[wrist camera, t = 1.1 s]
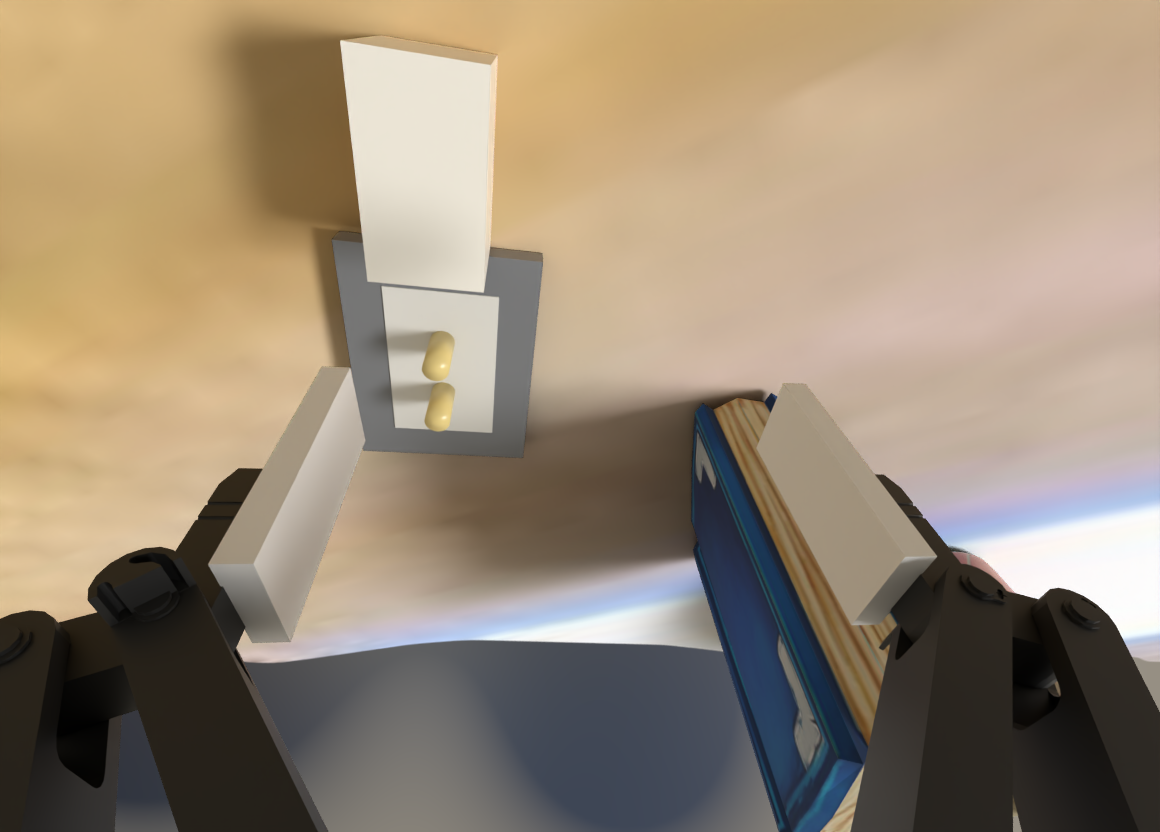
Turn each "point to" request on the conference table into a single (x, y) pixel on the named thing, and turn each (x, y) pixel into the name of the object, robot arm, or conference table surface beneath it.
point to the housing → (422, 159)
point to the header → (441, 356)
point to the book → (782, 628)
